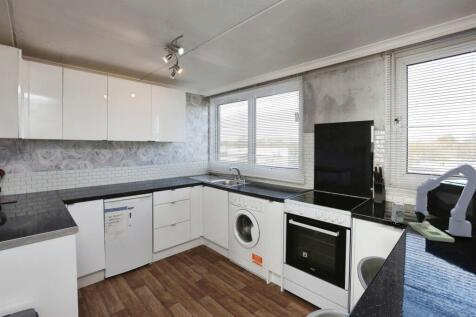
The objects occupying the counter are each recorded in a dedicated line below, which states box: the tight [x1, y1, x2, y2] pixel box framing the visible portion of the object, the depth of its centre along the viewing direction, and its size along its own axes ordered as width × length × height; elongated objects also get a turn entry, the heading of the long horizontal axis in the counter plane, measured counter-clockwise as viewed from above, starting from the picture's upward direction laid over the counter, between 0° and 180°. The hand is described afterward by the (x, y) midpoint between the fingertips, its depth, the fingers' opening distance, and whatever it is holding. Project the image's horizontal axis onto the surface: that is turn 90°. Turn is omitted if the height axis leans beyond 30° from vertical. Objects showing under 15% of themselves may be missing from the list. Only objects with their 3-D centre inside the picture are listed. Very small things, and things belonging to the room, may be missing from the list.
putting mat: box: [408, 221, 455, 243], centre depth 142 cm, size 12×26×2 cm, turn 165°
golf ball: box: [422, 220, 431, 228], centre depth 146 cm, size 4×4×4 cm
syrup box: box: [390, 201, 406, 225], centre depth 160 cm, size 6×6×14 cm
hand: (420, 223), depth 153 cm, fingers closed
